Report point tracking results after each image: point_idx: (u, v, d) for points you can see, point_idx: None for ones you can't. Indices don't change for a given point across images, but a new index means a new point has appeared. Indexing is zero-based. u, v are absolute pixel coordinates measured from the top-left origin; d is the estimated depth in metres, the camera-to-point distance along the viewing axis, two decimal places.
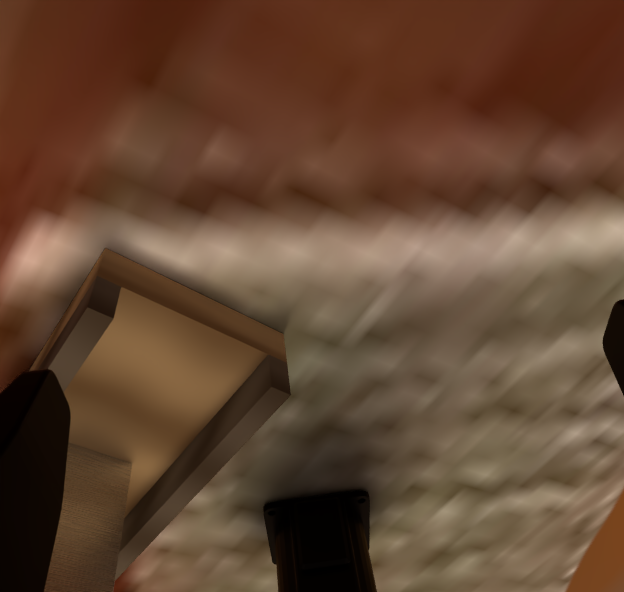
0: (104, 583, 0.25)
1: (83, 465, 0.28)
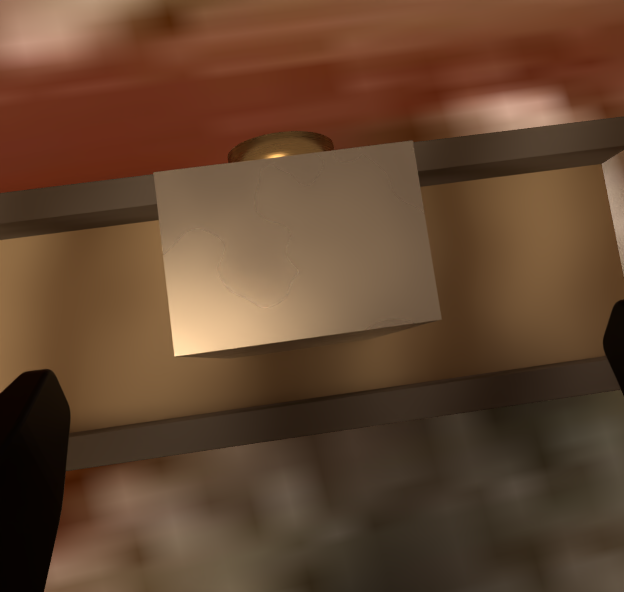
0: None
1: None
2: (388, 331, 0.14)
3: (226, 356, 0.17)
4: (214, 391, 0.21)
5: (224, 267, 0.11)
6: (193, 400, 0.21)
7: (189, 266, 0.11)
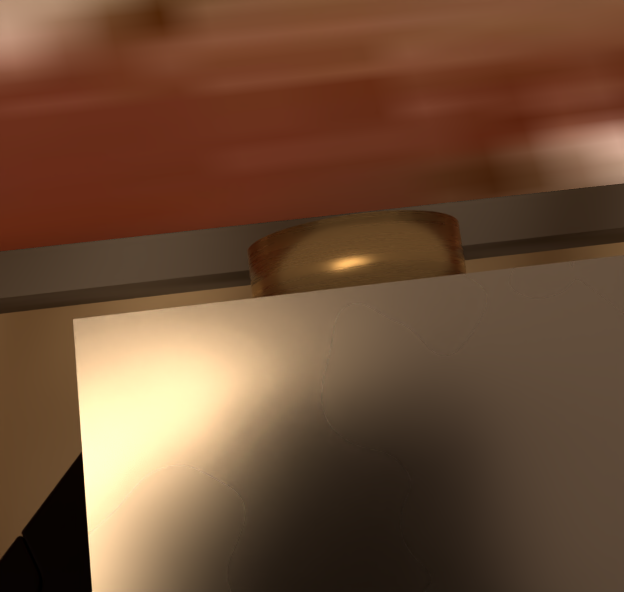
0: None
1: None
2: None
3: None
4: None
5: (242, 568, 0.04)
6: None
7: (154, 563, 0.04)
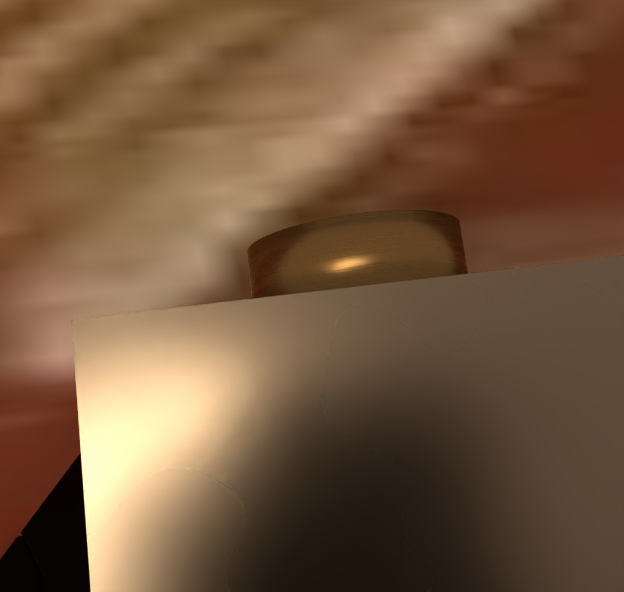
0: None
1: None
2: None
3: None
4: None
5: (242, 570, 0.04)
6: None
7: (153, 567, 0.04)
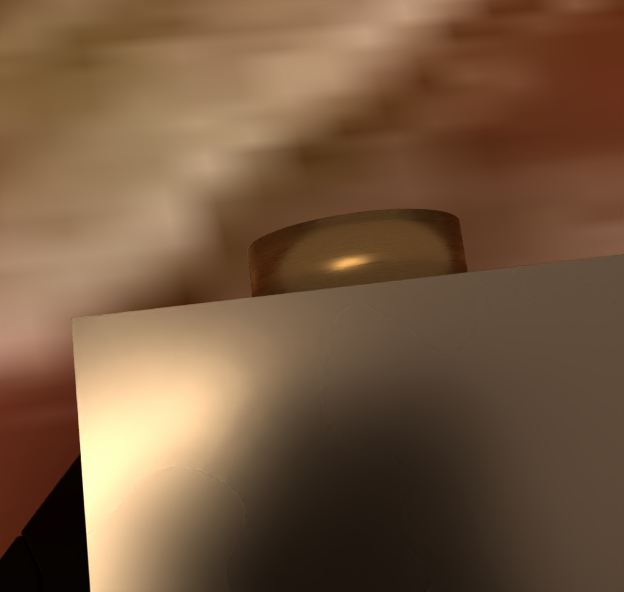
0: None
1: None
2: None
3: None
4: None
5: (243, 570, 0.04)
6: None
7: (153, 565, 0.04)
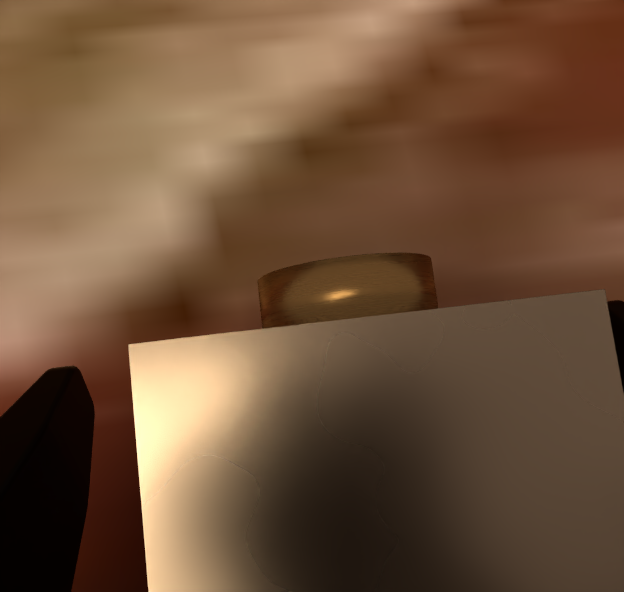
0: None
1: None
2: None
3: None
4: None
5: (258, 533, 0.06)
6: None
7: (191, 529, 0.06)
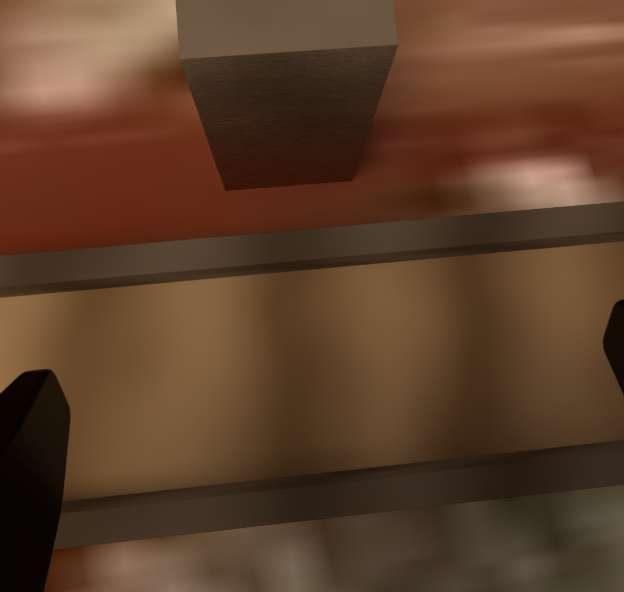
0: None
1: None
2: (360, 105, 0.17)
3: (221, 150, 0.19)
4: (222, 462, 0.20)
5: None
6: (200, 470, 0.20)
7: None
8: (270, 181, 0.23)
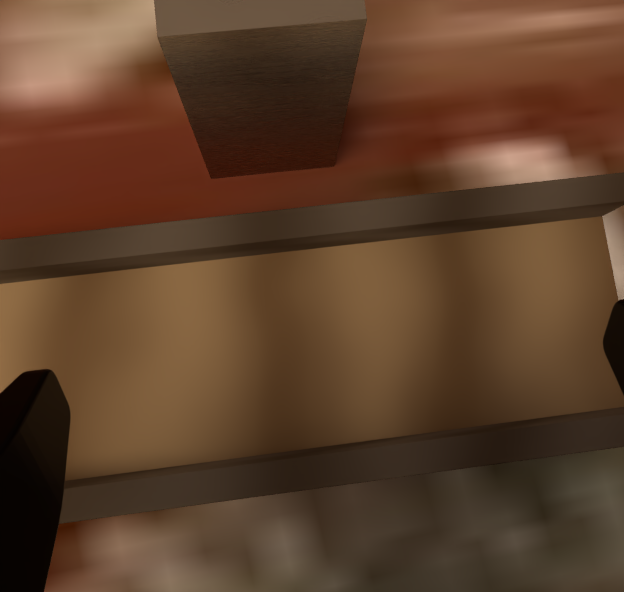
0: None
1: None
2: (335, 84, 0.17)
3: (204, 134, 0.20)
4: (212, 440, 0.20)
5: None
6: (191, 449, 0.20)
7: None
8: (254, 167, 0.23)
